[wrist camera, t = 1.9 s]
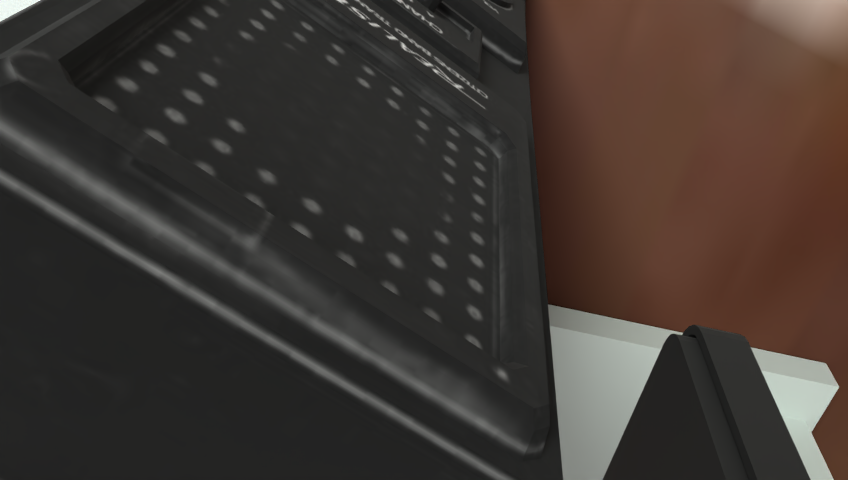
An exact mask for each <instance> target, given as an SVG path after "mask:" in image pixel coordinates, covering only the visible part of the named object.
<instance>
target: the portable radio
mask: <svg viewBox="0 0 848 480" xmlns="http://www.w3.org/2000/svg"><path fill="white" fill-rule="evenodd" d="M0 480H563V472H562V460H561V449H560V437H559V426H558V414H557V402H556V391H555V379H554V368H553V356H552V345H551V333H550V321H549V310H548V298H547V287H546V275H545V264H544V252H543V240H542V229H541V217H540V206H539V194H538V183H537V171H536V159H535V148H534V136H533V125H532V113H531V101H530V86H529V71H528V55H527V39H526V24H525V0H41V1H39V2H37V3H35V4H33V5H31V6H29V7H27V8H25V9H23V10H22V11H20V12H18V13H16V14H14V15H12V16H10V17H8V18H6V19H5V20H3V21H1V22H0Z"/></svg>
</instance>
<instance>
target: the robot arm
mask: <svg viewBox="0 0 848 480" xmlns="http://www.w3.org/2000/svg"><path fill="white" fill-rule="evenodd" d="M603 480H811V479H810V477H809V475H808V473H807V470H806V468H805V466H804V464H803V462H802V459H801V457H800V455H799V453H798V450H797V448H796V446H795V444H794V442H793V439H792V437H791V435H790V433H789V431H788V428H787V426H786V424H785V422H784V420H783V417H782V415H781V413H780V411H779V409H778V406H777V404H776V402H775V400H774V398H773V395H772V393H771V391H770V389H769V387H768V384H767V382H766V380H765V378H764V376H763V373H762V371H761V369H760V367H759V365H758V362H757V360H756V358H755V356H754V353H753V351H752V349H751V347H750V345H749V342H748V341H747V340H746V338H745V337H744V336H742V335H740V334H736V333H731V332H726V331H721V330H717V329H712V328H707V327H702V326H698V325H692V326H689V327H688V328H687V329H686V330H685V331H684V333H683V334H682V335H678V334H671V335H669V337H668V338H667V339H666V341H665V342H664V344H663V346H662V349H661V351H660V353H659V355H658V357H657V360H656V362H655V364H654V366H653V369H652V371H651V373H650V375H649V377H648V380H647V382H646V384H645V386H644V389H643V391H642V393H641V395H640V397H639V400H638V402H637V404H636V406H635V409H634V411H633V413H632V415H631V417H630V420H629V422H628V424H627V426H626V429H625V431H624V433H623V435H622V437H621V440H620V442H619V444H618V446H617V449H616V451H615V453H614V455H613V457H612V460H611V462H610V464H609V466H608V468H607V471H606V473H605V475H604V477H603Z"/></svg>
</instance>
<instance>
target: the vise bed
mask: <svg viewBox="0 0 848 480" xmlns="http://www.w3.org/2000/svg"><path fill="white" fill-rule="evenodd" d="M548 310H549V321H550V333H551V345H552V356H553V368H554V379H555V391H556V402H557V414H558V426H559V437H560V449H561V460H562V472H563V480H603V477H604V475H605V473H606V471H607V468H608V466H609V464H610V462H611V460H612V457H613V455H614V453H615V451H616V449H617V446H618V444H619V442H620V440H621V437H622V435H623V433H624V431H625V429H626V426H627V424H628V422H629V420H630V417H631V415H632V413H633V411H634V409H635V406H636V404H637V402H638V400H639V397H640V395H641V393H642V391H643V389H644V386H645V384H646V382H647V380H648V377H649V375H650V373H651V371H652V369H653V366H654V364H655V362H656V360H657V357H658V355H659V353H660V351H661V349H662V346H663V344H664V342H665V341H666V339H667V338H668V337H669V335H671V334H678V335H682V334H683V333H681V332H676V331H671V330H667V329H662V328H657V327H653V326H648V325H643V324H638V323H634V322H629V321H624V320H620V319H615V318H610V317H606V316H601V315H596V314H592V313H587V312H582V311H577V310H573V309H568V308H563V307H559V306H554V305H549V304H548ZM751 349H752V351H753V353H754V356H755V358H756V360H757V362H758V365H759V367H760V369H761V371H762V373H763V376H764V378H765V380H766V382H767V384H768V387H769V389H770V391H771V393H772V395H773V398H774V400H775V402H776V404H777V406H778V409H779V411H780V413H781V415H782V417H783V420H784V422H785V424H786V426H787V428H788V431H789V433H790V435H791V437H792V439H793V442H794V444H795V446H796V448H797V450H798V453H799V455H800V457H801V459H802V462H803V464H804V466H805V468H806V470H807V473H808V475H809V477H810V479H811V480H834V479H833V477H832V475H831V473H830V471H829V469H828V467H827V465H826V463H825V461H824V458H823V456H822V454H821V452H820V450H819V448H818V446H817V444H816V442H815V440H814V438H813V436H812V433H811V432H812V431H813V429H814V427H815V426H816V424H817V422H818V421H819V419H820V417H821V416H822V414H823V413H824V411H825V409H826V408H827V406H828V404H829V403H830V401H831V399H832V398H833V396H834V395H835V393H836V391H837V390H838V388H839V386H838V384H837V382H836V381H835V379H834V377H833V375H832V373H831V372H830V370H829V368H828V366H827V364H826V363H822V362H817V361H812V360H808V359H803V358H798V357H793V356H789V355H784V354H779V353H775V352H770V351H765V350H761V349H756V348H751Z"/></svg>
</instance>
